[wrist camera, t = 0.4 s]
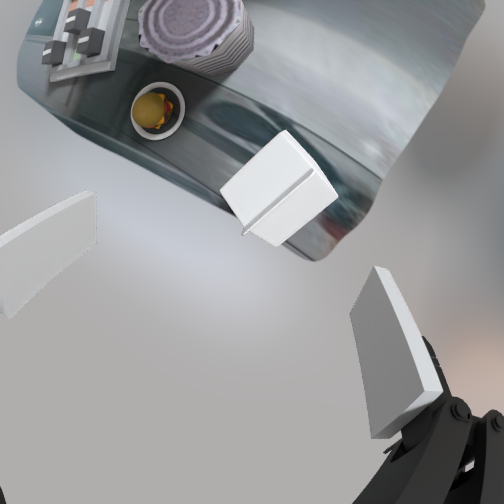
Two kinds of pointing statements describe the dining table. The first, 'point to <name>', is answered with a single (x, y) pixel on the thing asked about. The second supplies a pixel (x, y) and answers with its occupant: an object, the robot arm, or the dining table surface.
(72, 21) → the breaker mid
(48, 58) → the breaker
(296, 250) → the dining table surface
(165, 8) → the can
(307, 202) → the milk
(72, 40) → the panel
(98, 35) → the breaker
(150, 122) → the hamburger
